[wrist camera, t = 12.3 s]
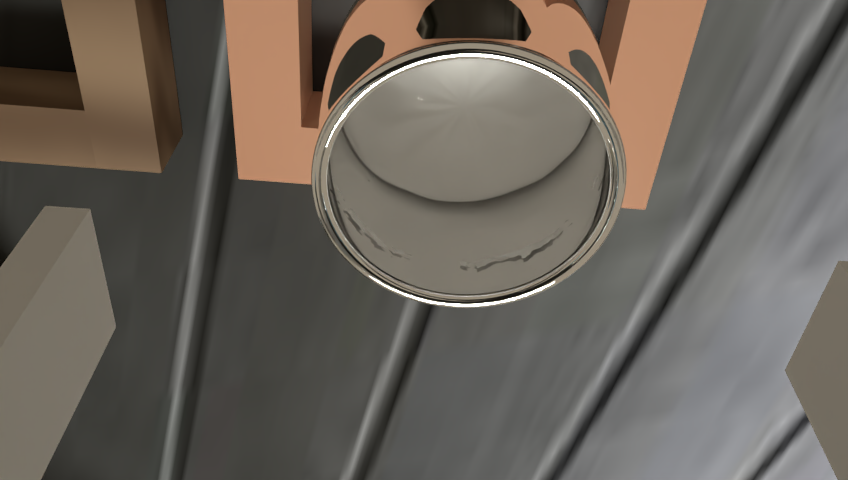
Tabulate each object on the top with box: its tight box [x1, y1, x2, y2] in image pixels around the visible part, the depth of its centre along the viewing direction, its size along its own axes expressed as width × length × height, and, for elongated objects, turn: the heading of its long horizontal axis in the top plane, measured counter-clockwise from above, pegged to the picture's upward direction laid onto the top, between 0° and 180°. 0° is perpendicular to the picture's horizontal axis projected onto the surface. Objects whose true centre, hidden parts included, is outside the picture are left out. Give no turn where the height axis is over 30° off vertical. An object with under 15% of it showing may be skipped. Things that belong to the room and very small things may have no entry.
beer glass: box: [311, 0, 627, 308], centre depth 22 cm, size 7×7×15 cm
